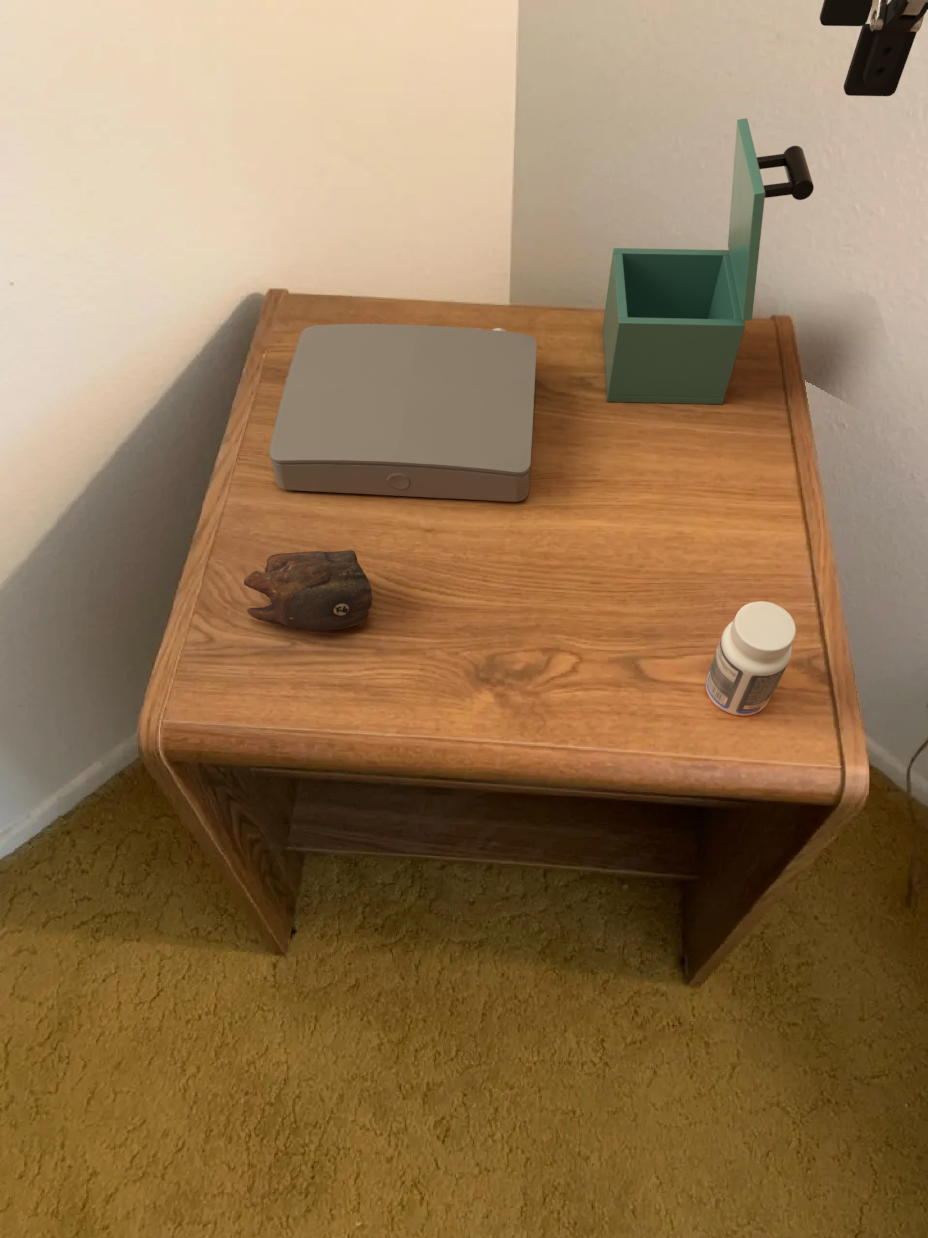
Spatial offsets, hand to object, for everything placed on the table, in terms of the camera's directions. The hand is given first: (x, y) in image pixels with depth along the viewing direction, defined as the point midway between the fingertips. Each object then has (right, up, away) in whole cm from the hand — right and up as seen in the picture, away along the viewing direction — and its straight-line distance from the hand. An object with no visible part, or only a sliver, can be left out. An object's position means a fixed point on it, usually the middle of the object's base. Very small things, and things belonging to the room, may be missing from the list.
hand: (854, 57), depth 62 cm
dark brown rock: (-38, -37, +10) cm, 54 cm away
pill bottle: (-6, -43, +6) cm, 44 cm away
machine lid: (-4, -5, +13) cm, 15 cm away
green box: (-8, -14, +26) cm, 30 cm away
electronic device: (-31, -20, +22) cm, 43 cm away
